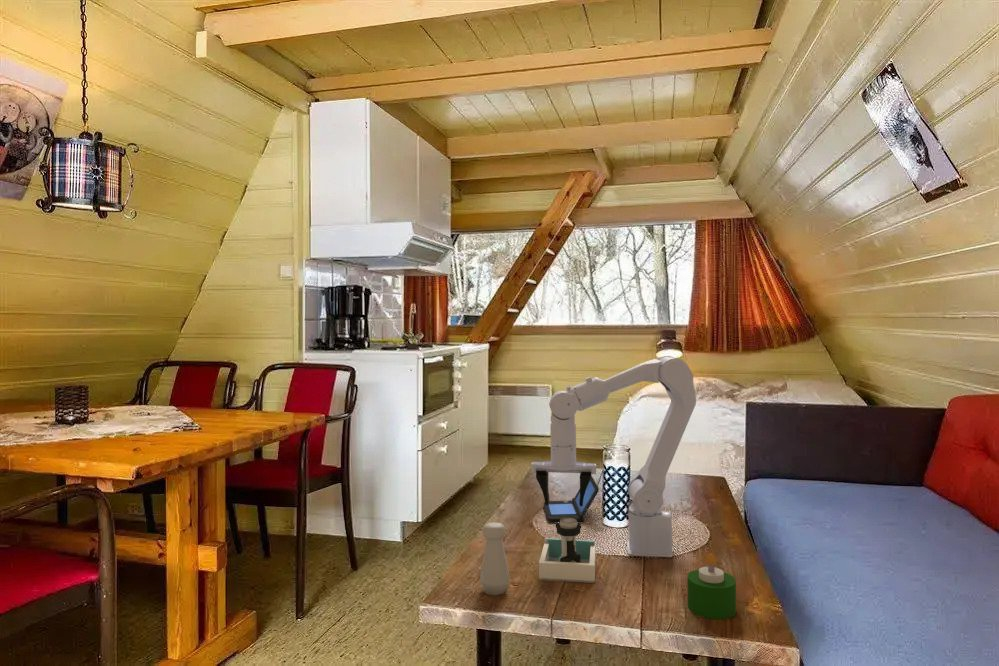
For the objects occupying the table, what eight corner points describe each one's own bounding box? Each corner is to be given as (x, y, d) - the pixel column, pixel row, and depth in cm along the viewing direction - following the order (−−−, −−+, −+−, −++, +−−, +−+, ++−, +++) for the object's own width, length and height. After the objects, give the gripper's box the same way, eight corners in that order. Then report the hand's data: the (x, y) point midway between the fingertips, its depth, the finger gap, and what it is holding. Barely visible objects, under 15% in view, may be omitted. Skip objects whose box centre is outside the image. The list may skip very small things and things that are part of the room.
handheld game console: (543, 506, 177) (542, 473, 177) (590, 505, 177) (590, 472, 177) (548, 524, 161) (547, 488, 161) (600, 523, 161) (599, 487, 161)
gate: (594, 558, 137) (594, 540, 136) (594, 560, 136) (594, 541, 136) (544, 555, 139) (544, 537, 139) (544, 557, 138) (544, 539, 138)
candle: (746, 615, 111) (745, 558, 110) (705, 622, 108) (705, 564, 108) (717, 595, 119) (716, 543, 118) (678, 602, 116) (678, 548, 116)
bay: (595, 561, 136) (595, 545, 136) (594, 583, 125) (594, 565, 125) (544, 559, 138) (544, 543, 137) (539, 580, 127) (539, 562, 127)
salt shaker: (481, 584, 125) (480, 519, 125) (509, 584, 125) (508, 519, 125) (479, 597, 119) (478, 529, 119) (509, 597, 119) (508, 529, 119)
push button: (566, 577, 127) (565, 528, 126) (546, 570, 131) (545, 522, 130) (587, 568, 131) (586, 520, 131) (567, 561, 135) (567, 515, 135)
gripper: (596, 441, 145) (596, 500, 145) (533, 440, 147) (534, 498, 148) (595, 448, 138) (596, 509, 138) (529, 446, 140) (530, 507, 141)
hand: (564, 504), depth 143 cm, fingers open, 7 cm apart
